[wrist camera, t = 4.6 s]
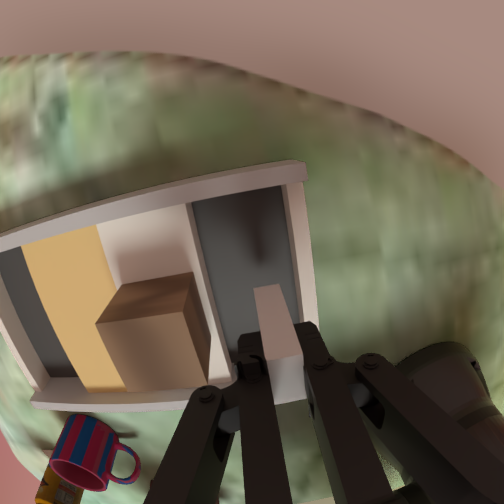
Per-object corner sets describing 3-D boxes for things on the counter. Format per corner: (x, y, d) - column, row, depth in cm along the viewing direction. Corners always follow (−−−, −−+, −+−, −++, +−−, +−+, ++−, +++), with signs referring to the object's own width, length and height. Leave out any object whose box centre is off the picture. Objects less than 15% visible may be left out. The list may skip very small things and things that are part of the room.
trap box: (291, 159, 20) (305, 162, 16) (315, 354, 25) (326, 385, 21) (-17, 239, 20) (-44, 254, 16) (49, 383, 25) (34, 408, 21)
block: (193, 271, 19) (182, 311, 15) (211, 336, 21) (208, 385, 16) (121, 284, 19) (94, 323, 15) (145, 345, 21) (128, 392, 16)
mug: (61, 407, 26) (40, 451, 20) (144, 427, 27) (133, 478, 21) (74, 440, 28) (59, 480, 22) (149, 458, 30) (141, 503, 23)
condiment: (41, 449, 30) (16, 509, 18) (78, 449, 29) (54, 520, 18) (72, 476, 32) (55, 534, 21) (111, 477, 32) (96, 544, 20)
